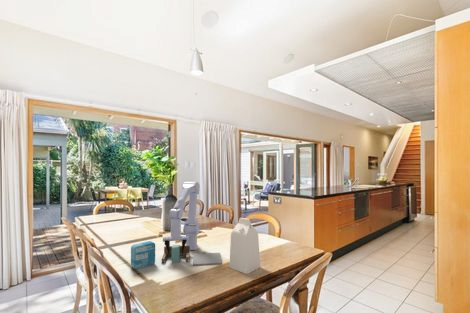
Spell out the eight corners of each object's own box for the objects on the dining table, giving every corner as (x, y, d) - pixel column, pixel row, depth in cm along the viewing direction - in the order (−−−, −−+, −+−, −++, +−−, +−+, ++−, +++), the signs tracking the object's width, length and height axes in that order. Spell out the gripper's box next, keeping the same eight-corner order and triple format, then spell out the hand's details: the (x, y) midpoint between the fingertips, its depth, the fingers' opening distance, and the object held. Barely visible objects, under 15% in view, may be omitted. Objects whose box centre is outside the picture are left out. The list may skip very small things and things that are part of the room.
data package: (133, 270, 130) (134, 247, 130) (130, 267, 133) (130, 245, 134) (155, 263, 138) (155, 242, 139) (151, 261, 141) (151, 240, 142)
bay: (164, 256, 149) (164, 246, 149) (189, 255, 151) (189, 245, 151) (161, 263, 139) (161, 252, 139) (188, 261, 141) (188, 251, 141)
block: (172, 258, 146) (172, 245, 146) (179, 258, 146) (179, 244, 146) (171, 262, 140) (171, 248, 140) (178, 262, 140) (178, 248, 140)
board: (193, 255, 151) (193, 253, 151) (219, 253, 153) (219, 252, 153) (192, 265, 135) (192, 264, 135) (221, 264, 137) (221, 262, 137)
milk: (260, 267, 133) (259, 218, 134) (246, 274, 124) (246, 222, 125) (243, 261, 141) (242, 215, 142) (229, 267, 132) (229, 218, 133)
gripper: (161, 231, 139) (161, 256, 138) (188, 231, 140) (188, 255, 140) (163, 228, 146) (163, 252, 145) (188, 227, 147) (188, 251, 147)
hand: (175, 253), depth 143 cm, fingers open, 7 cm apart
